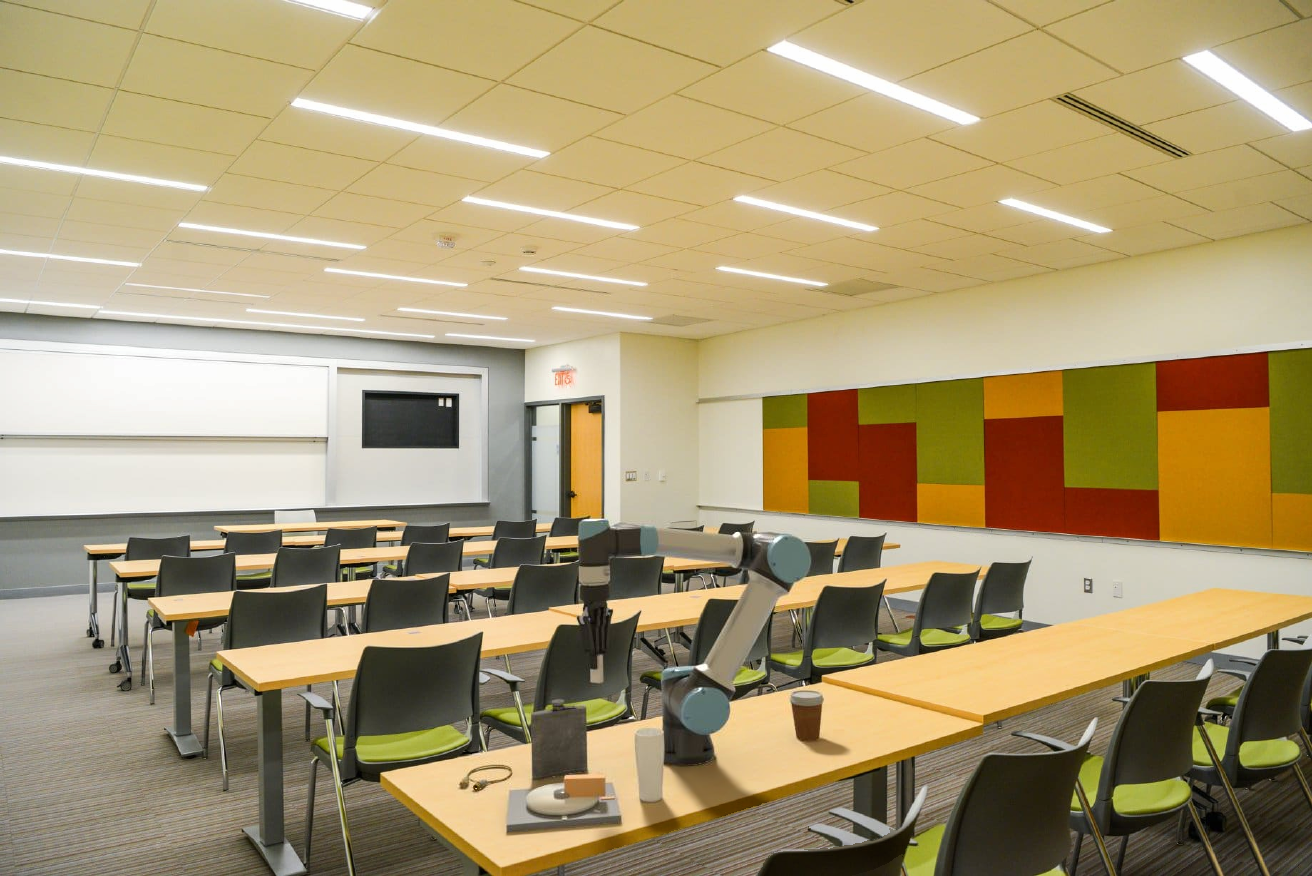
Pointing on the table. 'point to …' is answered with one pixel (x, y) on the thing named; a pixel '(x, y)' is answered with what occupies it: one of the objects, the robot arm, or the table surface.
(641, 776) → the drinking glass
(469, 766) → the table surface
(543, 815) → the dial housing
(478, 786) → the extension cord
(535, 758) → the flask
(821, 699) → the disposable coffee cup
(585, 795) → the dial
